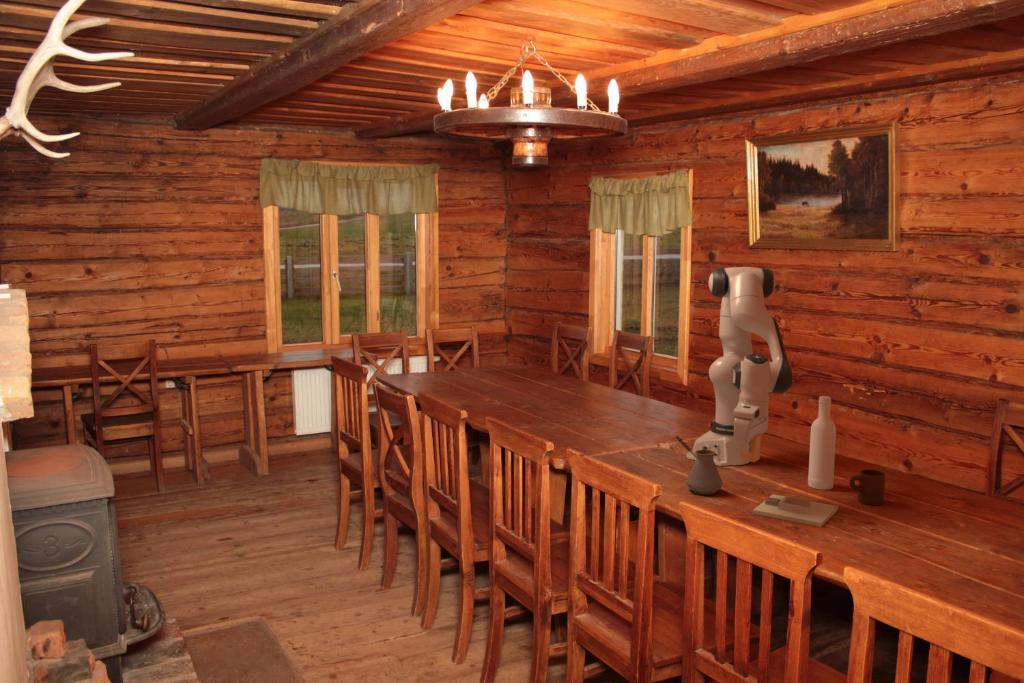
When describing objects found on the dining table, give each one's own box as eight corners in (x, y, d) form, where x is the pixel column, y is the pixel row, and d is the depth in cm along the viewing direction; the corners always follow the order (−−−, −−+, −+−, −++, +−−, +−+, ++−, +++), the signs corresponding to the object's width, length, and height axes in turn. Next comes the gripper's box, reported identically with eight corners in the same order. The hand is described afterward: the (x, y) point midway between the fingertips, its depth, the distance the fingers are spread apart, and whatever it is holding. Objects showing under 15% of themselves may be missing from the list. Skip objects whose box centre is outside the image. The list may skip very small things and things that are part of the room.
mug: (856, 508, 273) (858, 478, 272) (840, 500, 280) (842, 471, 279) (889, 504, 277) (891, 474, 276) (872, 497, 284) (874, 468, 283)
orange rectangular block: (740, 459, 279) (741, 434, 277) (745, 456, 282) (747, 431, 281) (754, 462, 276) (756, 437, 275) (759, 459, 280) (761, 434, 278)
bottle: (834, 490, 290) (839, 399, 286) (809, 489, 292) (814, 398, 288) (831, 483, 298) (836, 394, 294) (806, 482, 300) (810, 393, 295)
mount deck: (753, 513, 268) (753, 503, 268) (772, 498, 283) (773, 488, 282) (821, 526, 257) (821, 516, 256) (837, 509, 272) (838, 499, 271)
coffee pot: (729, 493, 287) (731, 447, 285) (701, 498, 282) (703, 452, 280) (687, 476, 306) (688, 433, 304) (660, 480, 301) (661, 437, 299)
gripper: (755, 400, 287) (752, 442, 289) (731, 411, 270) (728, 456, 272) (774, 403, 283) (771, 445, 285) (751, 415, 267) (748, 460, 269)
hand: (750, 450), depth 279 cm, fingers closed on orange rectangular block, 4 cm apart
